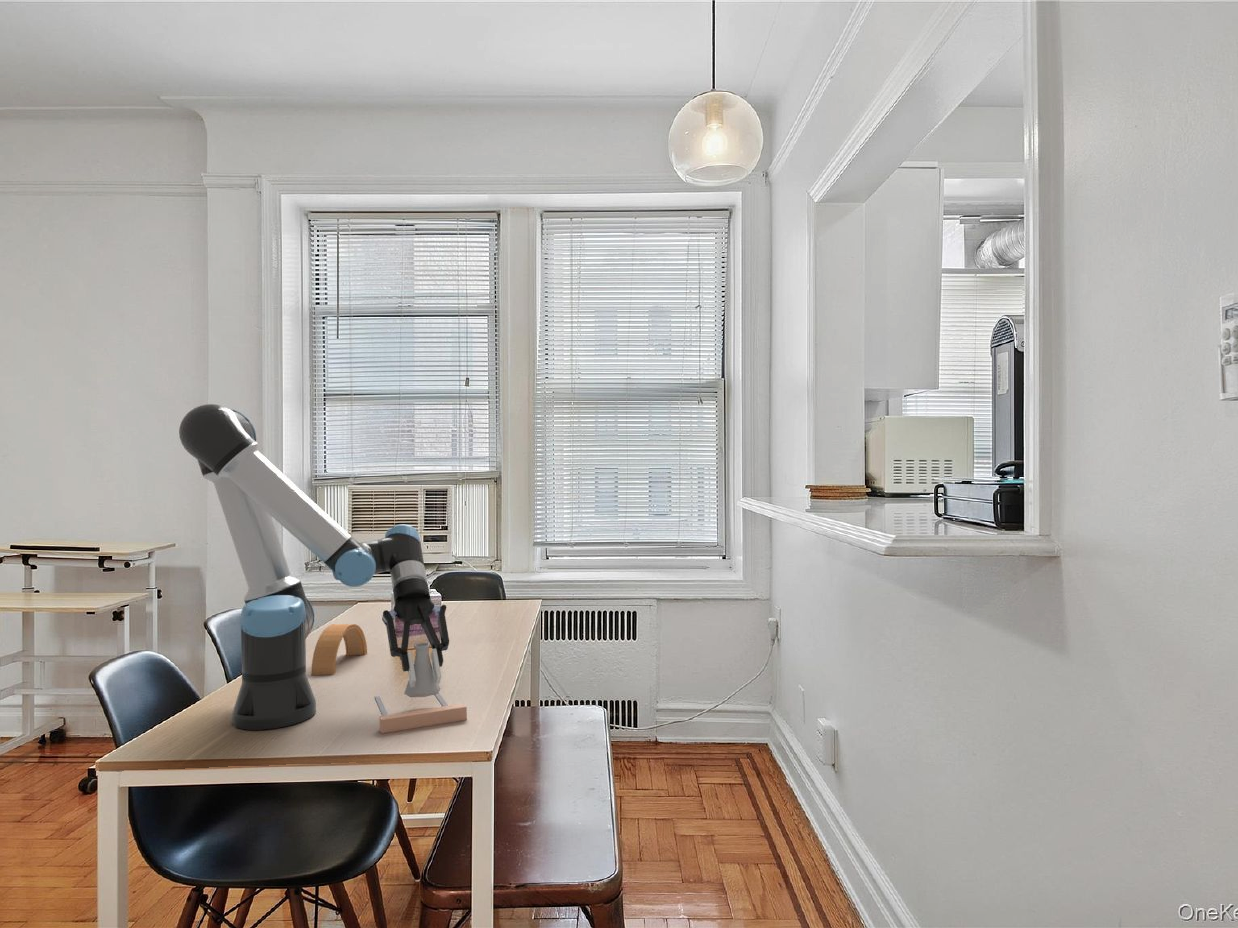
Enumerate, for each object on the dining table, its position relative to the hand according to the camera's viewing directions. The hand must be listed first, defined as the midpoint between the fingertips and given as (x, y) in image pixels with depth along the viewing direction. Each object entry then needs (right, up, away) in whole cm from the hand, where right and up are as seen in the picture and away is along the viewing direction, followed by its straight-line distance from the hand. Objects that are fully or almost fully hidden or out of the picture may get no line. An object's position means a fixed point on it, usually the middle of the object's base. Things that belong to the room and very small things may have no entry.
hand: (425, 681), depth 146 cm
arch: (-33, -8, +41) cm, 53 cm away
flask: (-2, -3, +4) cm, 5 cm away
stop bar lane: (-4, -7, +4) cm, 9 cm away
